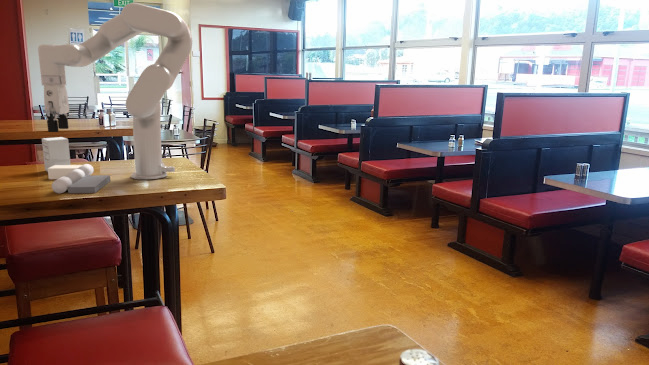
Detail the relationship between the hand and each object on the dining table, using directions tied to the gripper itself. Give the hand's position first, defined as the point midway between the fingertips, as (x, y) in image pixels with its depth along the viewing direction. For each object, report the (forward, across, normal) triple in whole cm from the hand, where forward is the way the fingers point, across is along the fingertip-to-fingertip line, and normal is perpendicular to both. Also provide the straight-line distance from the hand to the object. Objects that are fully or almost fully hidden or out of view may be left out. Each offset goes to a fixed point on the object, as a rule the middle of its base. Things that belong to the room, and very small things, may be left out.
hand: (58, 130), depth 175 cm
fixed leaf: (+17, -16, -12) cm, 26 cm away
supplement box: (+17, +12, +6) cm, 22 cm away
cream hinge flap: (+17, 0, -3) cm, 17 cm away
